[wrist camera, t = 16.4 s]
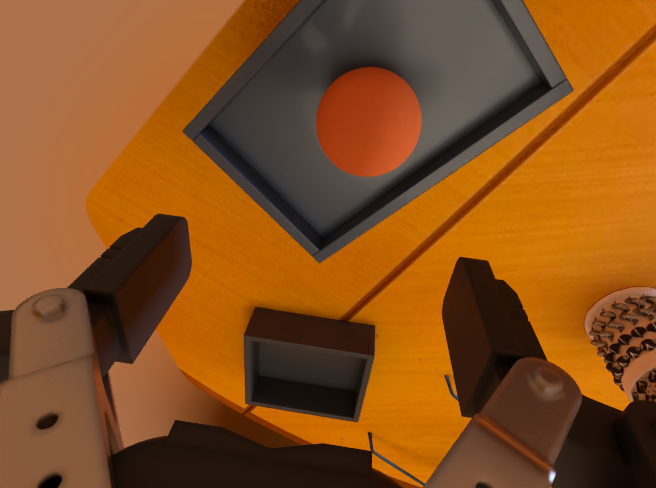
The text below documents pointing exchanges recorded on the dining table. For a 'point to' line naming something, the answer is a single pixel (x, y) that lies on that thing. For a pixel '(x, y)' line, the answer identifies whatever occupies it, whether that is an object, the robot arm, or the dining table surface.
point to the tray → (391, 54)
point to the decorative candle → (627, 339)
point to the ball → (368, 121)
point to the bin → (307, 364)
